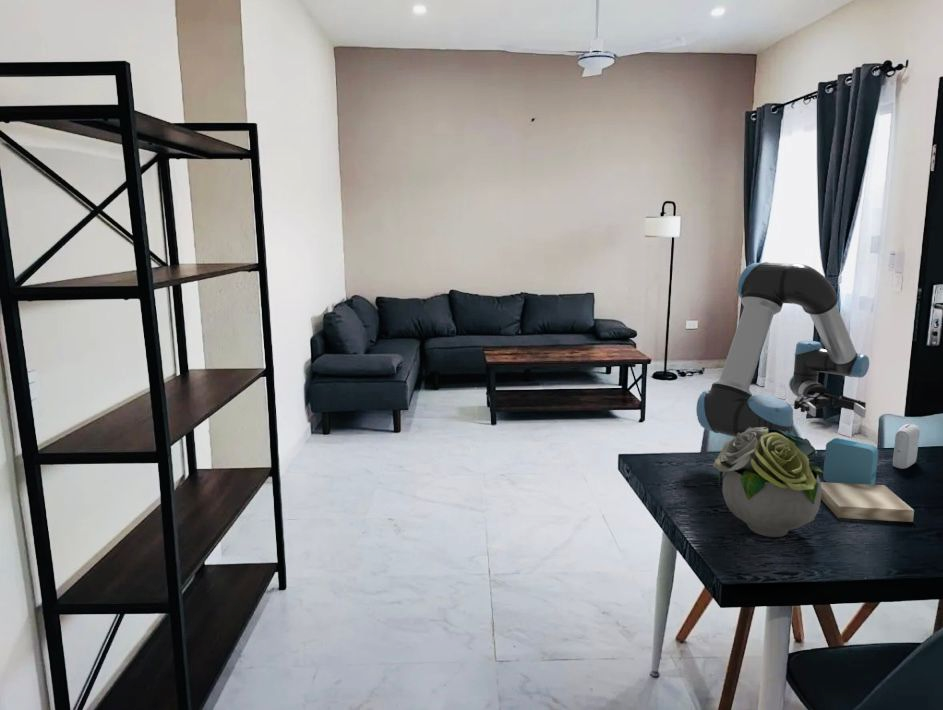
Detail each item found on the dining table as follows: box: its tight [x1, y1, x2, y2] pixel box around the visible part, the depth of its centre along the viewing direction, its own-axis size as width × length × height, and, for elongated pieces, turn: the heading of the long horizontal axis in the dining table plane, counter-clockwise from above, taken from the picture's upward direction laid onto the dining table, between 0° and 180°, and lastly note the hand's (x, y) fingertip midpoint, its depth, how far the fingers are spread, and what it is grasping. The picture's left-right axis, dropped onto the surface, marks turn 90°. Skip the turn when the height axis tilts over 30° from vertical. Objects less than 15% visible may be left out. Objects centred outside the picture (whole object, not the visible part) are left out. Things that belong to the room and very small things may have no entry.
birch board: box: [821, 481, 915, 523], centre depth 173 cm, size 17×16×3 cm
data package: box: [822, 438, 879, 485], centre depth 188 cm, size 12×4×12 cm, turn 45°
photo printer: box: [892, 423, 921, 470], centre depth 203 cm, size 10×4×12 cm, turn 130°
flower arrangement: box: [712, 427, 824, 538], centre depth 158 cm, size 25×25×24 cm
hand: (839, 412), depth 199 cm, fingers open, 13 cm apart
